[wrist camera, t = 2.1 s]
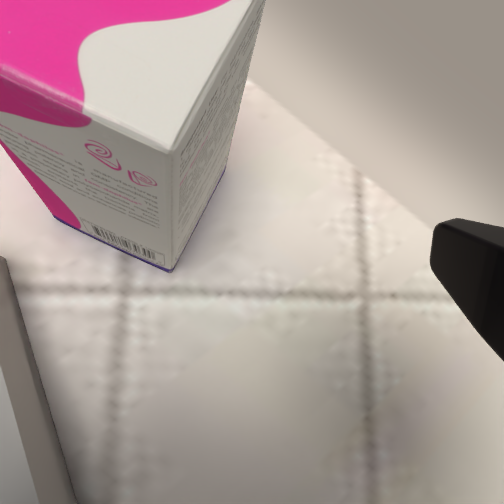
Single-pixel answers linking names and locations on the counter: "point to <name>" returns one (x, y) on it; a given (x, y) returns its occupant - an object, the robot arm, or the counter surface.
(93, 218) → the supplement box
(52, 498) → the bin
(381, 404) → the counter surface
